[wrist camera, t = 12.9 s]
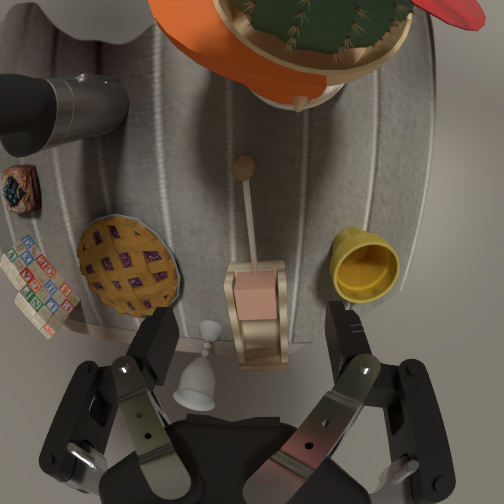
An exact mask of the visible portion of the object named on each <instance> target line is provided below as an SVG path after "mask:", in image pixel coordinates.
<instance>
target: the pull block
mask: <svg viewBox="0 0 504 504" xmlns="http://www.w3.org/2000/svg"><path fill="white" fill-rule="evenodd" d="M254 168H255V160H254V158H253V157H252V156H251V155H249V154H242V155H240V156H239V157H238V158H237V159H236V160H235V162H234V163H233V165H232V167H231V173H232V176H233V177H234V178H235V179H236V180H239V181H242V183H243V192H244V201H245V210H246V219H247V228H248V237H249V246H250V255H251V264H252V271H247V272H237V276H236V282H235V287H234V294H235V300H236V306H237V312H238V318H239V320H262V319H277V314H276V288H275V271H274V270H267V271H258V266H257V256H256V245H255V235H254V225H253V215H252V206H251V196H250V186H249V179H250V178H251V177H252V175H253V172H254Z"/></svg>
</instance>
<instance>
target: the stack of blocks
mask: <svg viewBox="0 0 504 504" xmlns="http://www.w3.org/2000/svg"><path fill="white" fill-rule="evenodd" d="M0 267H1V268H2V269H3V271H4V272H5V274H6V275H7V277H8V278H9V279H10V281H11V282H12V283H13V284H14V286H15V287H16V288H17V290H18V291H19V293H18V295H17V297H16V299H15V301H14V302H15V303H16V304H17V306H18V307H19V308H20V309H21V311H23V313H24V314H25V315H26V316H27V317H28V318H29V320H31V322H32V323H33V324H34V325H35V326H36V327H37V328H38V329H39V330H40V331H41V333H42V334H43V335H44V336H45V337H46V338H47V339H49V338H51V337H52V336H53V335H54V334H55V333H56V332H57V331H58V330H59V328H60V327H61V325H62V324H63V323H64V322H65V320H66V319H67V318H68V316H69V315H70V313H71V312H72V311H73V309H74V308H75V307H76V305H77V304H78V303H79V301H80V299H79V298H78V297H77V296H76V295H75V293H74V292H73V291H72V290H71V289H70V287H69V286H68V285H67V284H66V283H65V282H64V280H63V279H62V278H61V277H60V275H59V274H58V273H57V272H56V271H55V270H54V269H53V267H52V266H51V265H50V264H49V262H48V261H47V260H46V258H45V257H44V256H43V255H42V253H41V252H40V250H39V249H38V248H37V246H36V245H35V244H34V242H33V241H32V239H31V238H30V236H29V235H26V236H25V237H24V238H22V239H21V240H19V241H18V242H17V243H15V244H14V245H13V246H12V247H11V248H9V249H8V250H7V251H6V252H5V253H4V254H3V257H2V260H1V263H0Z"/></svg>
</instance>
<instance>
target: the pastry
mask: <svg viewBox="0 0 504 504" xmlns="http://www.w3.org/2000/svg"><path fill="white" fill-rule="evenodd" d="M3 175H4V176H3V192H4V197H5V199H6V205H7V209H8V210H9V211H12V212H15V213H29V212H31V211H34V210H39V208H40V207H41V196H40V186H39V180H38V174H37V171H36V166H33V165H17V166H12V167H10V168H8V169H7V170H6V171H5V172H4V173H3Z"/></svg>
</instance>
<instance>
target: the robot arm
mask: <svg viewBox="0 0 504 504" xmlns="http://www.w3.org/2000/svg"><path fill="white" fill-rule="evenodd" d="M127 110H128V96H127V94H126V91H125V90H124V88H123V87H122V86H121V85H120V84H119V83H118V78H116V77H109V76H101V75H93V74H82V75H79V76H77V77H75V78H32V77H28V76H24V75H20V74H0V140H1V143H2V145H3V147H4V149H5V150H6V151H7V152H8V153H9V154H10V155H11V156H14V157H25V156H28V155H31V154H34V153H37V152H40V151H43V150H46V149H49V148H53V147H56V146H59V145H63V144H66V143H70V142H74V141H78V140H81V139H85V138H90V137H94V136H99V135H103V134H107V133H110V132H112V131H114V130H115V129H117V128H118V127H119V126H120V125H121V124H122V122H123V120H124V119H125V116H126V114H127ZM325 336H326V341H327V346H328V351H329V357H330V362H331V367H332V373H333V379H334V384H335V386H334V387H333V389H332V390H331V391H330V392H329V391H328V392H327V393H326V394H325V395H324V396H323V397H322V399H321V400H320V401H319V403H318V404H317V405H316V407H315V408H314V409H313V410H312V412H311V413H310V414H309V416H308V417H307V418H306V419H305V421H304V422H303V423H302V424H301V425H300V427H299V428H296V427H294V426H291V425H288V424H285V423H280V417H255V418H250V419H245V420H240V421H235V422H229V421H226V420H222V419H218V418H215V417H212V416H209V415H197V414H187V417H186V419H185V420H180V421H177V422H174V423H172V424H171V422H170V421H169V419H168V418H167V416H166V414H165V412H164V410H163V408H162V406H161V404H160V402H159V400H158V398H157V396H156V394H155V392H154V387H155V385H159V386H163V384H164V381H165V378H166V375H167V371H168V369H169V365H170V363H171V360H172V357H173V354H174V351H175V348H176V345H177V342H178V339H179V327H178V325H177V322H176V319H175V316H174V313H173V310H172V308H171V307H156V309H155V311H154V312H153V314H152V316H148V317H147V318H146V319H145V320H144V321H143V322H142V323H141V325H140V327H139V330H138V331H137V333H136V336H135V337H134V339H133V341H132V343H131V345H130V347H129V349H128V351H127V353H126V355H125V356H121V357H119V358H117V359H116V360H115V361H114V362H113V363H112V365H111V366H105V367H98V366H97V364H96V363H95V362H94V361H85V362H83V363H81V364H80V365H79V366H78V367H77V369H76V371H75V373H74V375H73V377H72V379H71V381H70V383H69V385H68V388H67V390H66V392H65V394H64V396H63V398H62V401H61V403H60V405H59V407H58V410H57V412H56V414H55V417H54V419H53V422H52V424H51V427H50V429H49V432H48V434H47V437H46V439H45V442H44V445H43V448H42V451H41V453H40V456H39V465H40V467H41V469H42V470H43V471H44V472H45V473H46V474H48V475H50V476H51V477H53V478H55V479H56V480H58V481H59V482H61V483H63V484H65V485H67V486H68V487H70V488H73V489H76V490H78V491H80V492H82V493H92V494H95V495H97V496H100V499H101V503H102V504H435V503H438V502H440V501H443V500H445V499H446V498H447V497H448V496H449V495H450V494H451V493H452V492H453V490H454V488H455V483H456V479H455V473H454V467H453V462H452V457H451V452H450V447H449V443H448V439H447V435H446V431H445V427H444V423H443V419H442V416H441V413H440V409H439V406H438V402H437V399H436V396H435V393H434V390H433V387H432V384H431V381H430V378H429V375H428V372H427V370H426V367H425V365H424V364H423V363H422V362H420V361H419V360H416V359H407V360H405V361H403V362H402V363H401V364H400V366H395V365H387V364H383V363H380V361H379V360H378V359H377V358H376V357H375V356H373V355H372V353H371V350H370V347H369V344H368V341H367V338H366V335H365V332H364V329H363V326H362V325H361V321H360V318H359V316H358V315H357V314H356V313H355V312H354V311H353V310H345V307H344V304H343V302H342V301H330V302H327V307H326V318H325ZM93 398H94V401H93V403H92V406H91V408H90V411H89V407H90V405H91V402H92V400H93ZM118 406H119V409H120V412H121V415H122V418H123V420H124V423H125V426H126V429H127V431H128V434H129V436H130V439H131V441H132V443H133V446H134V448H135V451H134V452H132V453H131V454H129V455H128V456H126V457H125V458H124V459H122V460H121V461H120V462H118V463H117V464H115V465H114V466H112V467H111V468H110V469H108V467H107V461H106V458H105V457H104V452H105V449H106V445H107V441H108V438H109V435H110V431H111V428H112V425H113V422H114V419H115V415H116V412H117V409H118ZM364 406H372V407H382V408H383V411H384V417H385V422H386V429H387V435H388V442H389V449H390V456H391V464H390V465H389V466H388V467H387V468H386V469H385V470H384V471H383V472H382V473H381V475H380V478H379V484H378V487H377V489H376V490H375V492H374V493H372V494H368V492H367V491H366V489H365V488H364V487H363V486H362V485H360V484H359V483H358V482H357V481H356V480H355V479H353V478H352V477H351V476H350V475H349V474H348V473H346V472H345V471H344V470H343V469H342V468H341V467H340V466H339V465H338V464H337V463H335V462H334V461H333V460H332V459H331V457H332V456H333V455H334V453H335V452H336V451H337V449H338V447H339V446H340V445H341V443H342V442H343V440H344V438H345V437H346V435H347V434H348V432H349V430H350V429H351V427H352V426H353V424H354V422H355V421H356V419H357V418H358V416H359V414H360V412H361V411H362V409H363V408H364Z"/></svg>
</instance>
